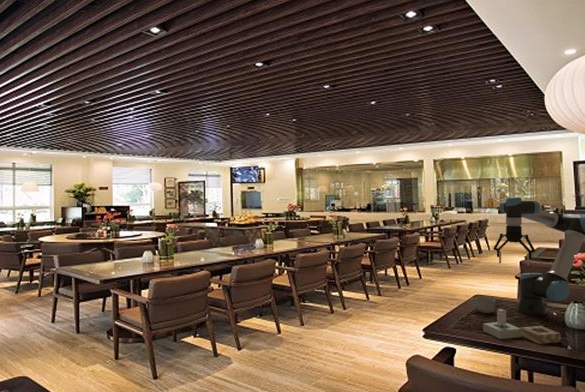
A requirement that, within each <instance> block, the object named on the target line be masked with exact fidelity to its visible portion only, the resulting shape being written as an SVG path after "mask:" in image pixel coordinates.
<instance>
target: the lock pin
mask: <svg viewBox="0 0 585 392" xmlns="http://www.w3.org/2000/svg"><path fill="white" fill-rule="evenodd" d="M496 309H497V308H496ZM496 318H497V320H496V322H497V327H499V328H506V323H507V310H506V309H502V308H498V309H497V310H496Z"/></svg>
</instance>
